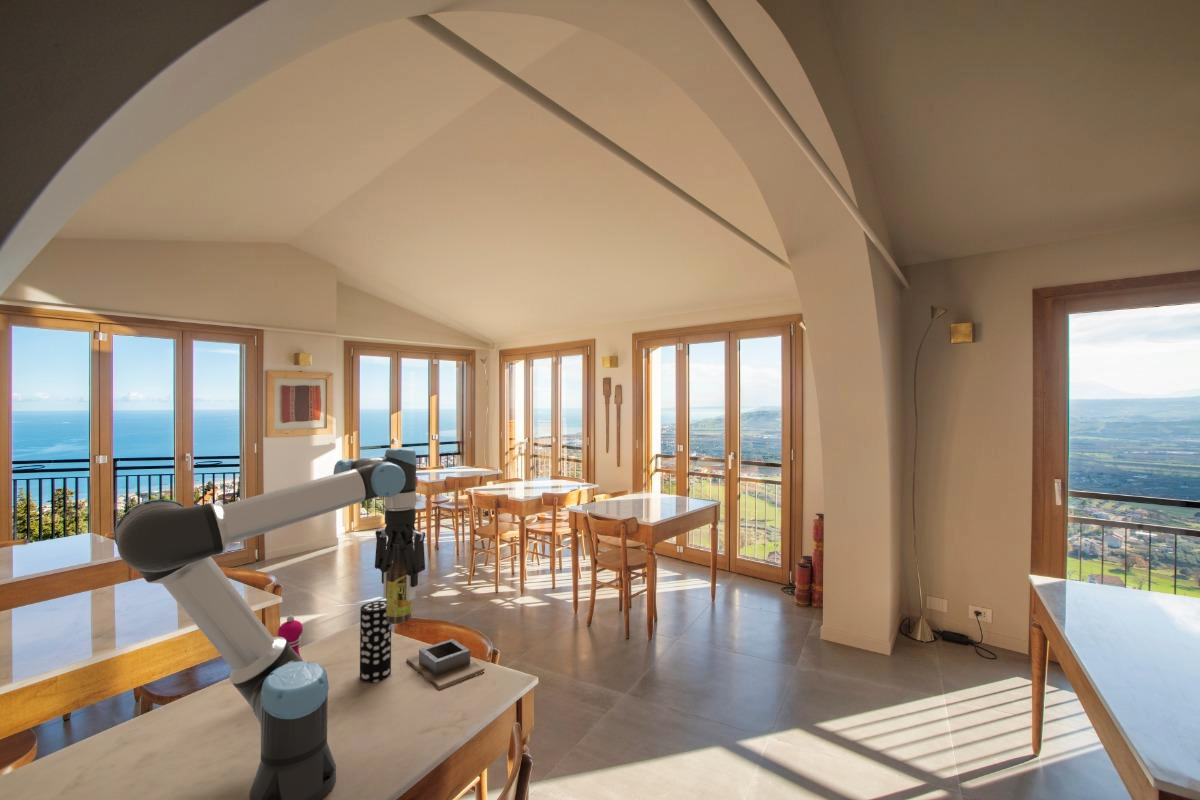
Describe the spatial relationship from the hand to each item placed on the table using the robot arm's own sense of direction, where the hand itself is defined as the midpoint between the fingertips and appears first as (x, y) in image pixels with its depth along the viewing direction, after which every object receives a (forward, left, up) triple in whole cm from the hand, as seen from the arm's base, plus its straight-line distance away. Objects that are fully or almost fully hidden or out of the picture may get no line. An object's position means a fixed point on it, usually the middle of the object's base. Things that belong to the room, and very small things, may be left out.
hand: (399, 597), depth 135 cm
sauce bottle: (0, 0, -6) cm, 6 cm away
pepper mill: (+31, +18, -29) cm, 46 cm away
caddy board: (+13, -19, -29) cm, 37 cm away
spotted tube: (+22, -2, -29) cm, 36 cm away
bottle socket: (+13, -19, -29) cm, 37 cm away
